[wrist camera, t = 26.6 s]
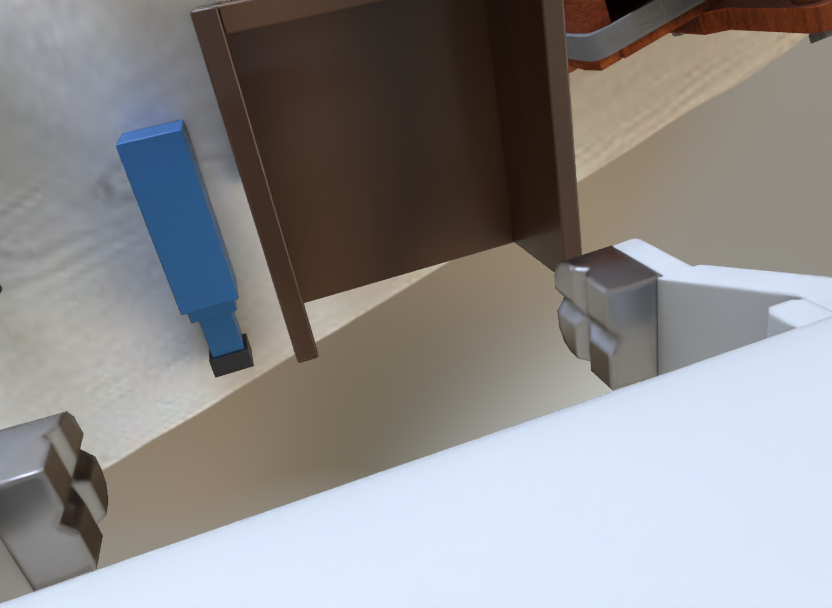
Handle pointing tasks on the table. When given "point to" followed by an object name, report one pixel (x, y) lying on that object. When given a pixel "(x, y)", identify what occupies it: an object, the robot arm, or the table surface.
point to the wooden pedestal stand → (394, 135)
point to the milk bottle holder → (678, 23)
